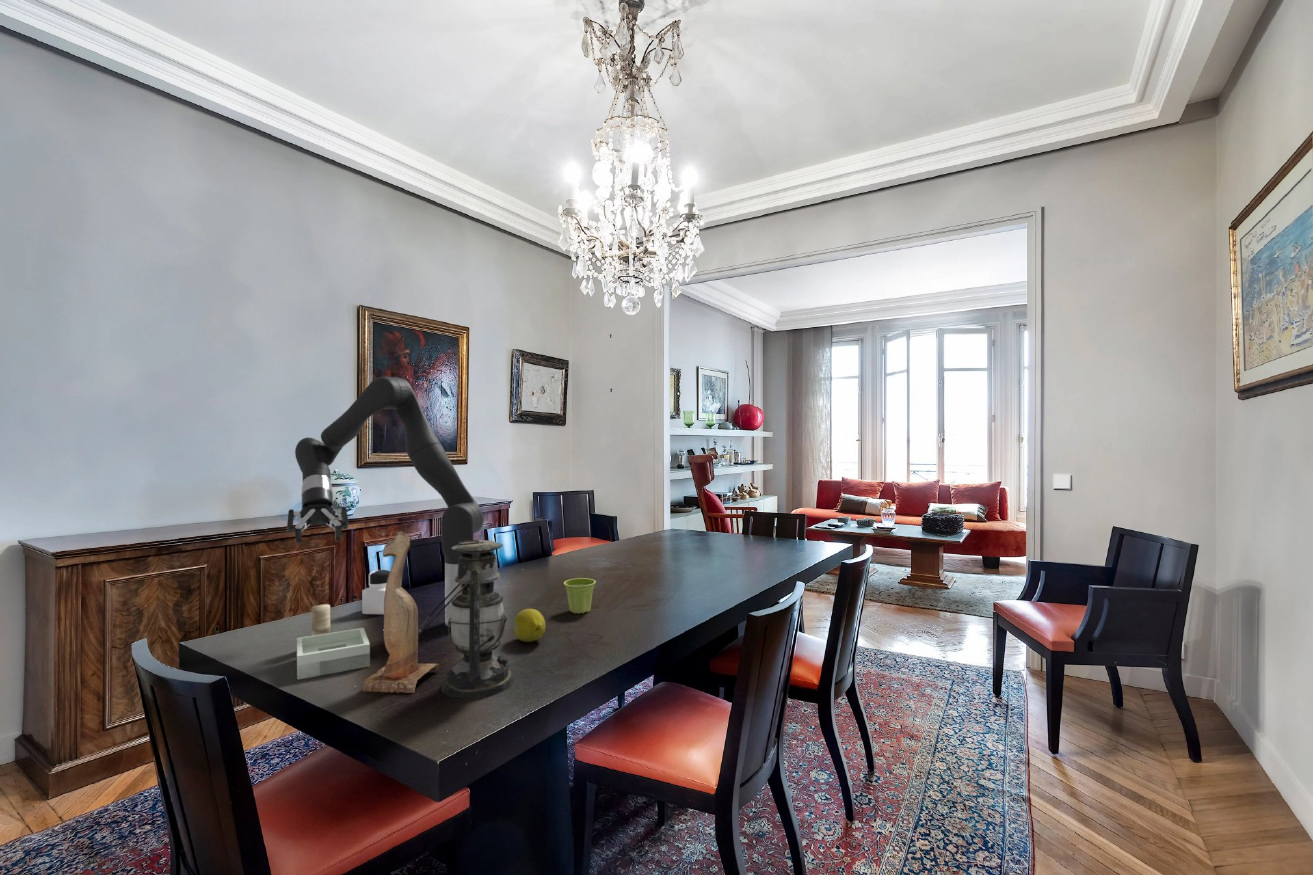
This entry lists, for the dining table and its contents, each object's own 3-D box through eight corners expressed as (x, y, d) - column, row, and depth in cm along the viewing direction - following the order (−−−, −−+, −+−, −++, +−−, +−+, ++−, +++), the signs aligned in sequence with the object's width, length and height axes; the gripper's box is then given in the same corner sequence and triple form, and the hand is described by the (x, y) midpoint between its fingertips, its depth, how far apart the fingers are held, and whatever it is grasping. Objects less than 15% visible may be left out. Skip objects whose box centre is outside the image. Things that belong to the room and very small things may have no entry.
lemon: (510, 636, 153) (510, 605, 153) (541, 633, 155) (540, 602, 156) (516, 650, 143) (516, 617, 143) (549, 646, 145) (548, 613, 145)
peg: (333, 644, 148) (333, 604, 148) (325, 649, 144) (325, 608, 144) (316, 644, 148) (316, 604, 148) (308, 650, 144) (308, 609, 144)
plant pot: (593, 615, 171) (593, 585, 171) (561, 615, 171) (561, 585, 171) (597, 606, 180) (597, 578, 180) (566, 606, 180) (566, 578, 180)
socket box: (363, 647, 145) (363, 627, 145) (369, 666, 133) (369, 644, 133) (296, 659, 138) (296, 637, 138) (297, 679, 126) (297, 656, 126)
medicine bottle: (397, 607, 180) (397, 568, 180) (384, 614, 173) (384, 573, 173) (375, 607, 181) (375, 568, 181) (361, 614, 174) (361, 573, 174)
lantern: (512, 699, 115) (511, 546, 116) (408, 709, 111) (408, 550, 112) (514, 664, 134) (514, 532, 134) (425, 671, 130) (425, 535, 130)
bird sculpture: (388, 672, 130) (383, 528, 130) (440, 671, 130) (435, 526, 130) (361, 694, 119) (355, 536, 119) (418, 693, 119) (412, 534, 119)
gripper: (287, 486, 160) (287, 535, 150) (346, 484, 167) (350, 530, 157) (287, 504, 164) (287, 552, 154) (345, 501, 172) (348, 547, 162)
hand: (318, 541), depth 156 cm, fingers open, 8 cm apart
